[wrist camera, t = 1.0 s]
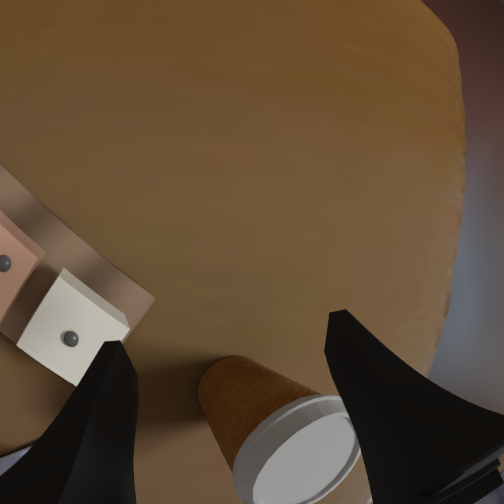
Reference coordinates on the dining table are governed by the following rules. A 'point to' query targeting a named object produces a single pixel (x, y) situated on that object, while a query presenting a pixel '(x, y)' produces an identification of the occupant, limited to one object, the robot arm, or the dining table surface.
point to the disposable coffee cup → (276, 433)
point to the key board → (62, 261)
